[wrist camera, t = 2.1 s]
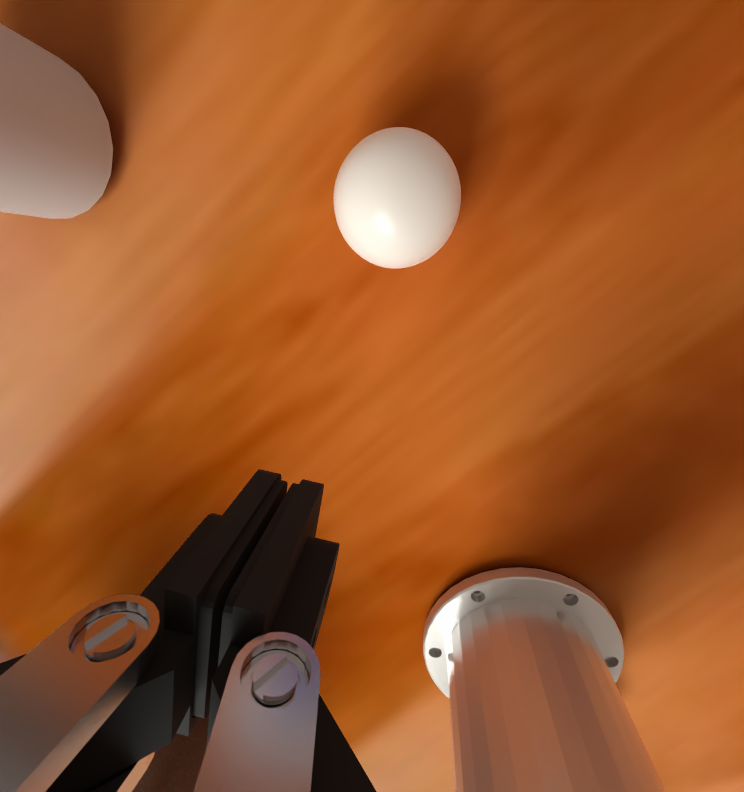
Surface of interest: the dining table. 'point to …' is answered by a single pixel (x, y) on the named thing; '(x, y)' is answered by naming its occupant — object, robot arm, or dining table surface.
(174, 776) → the plant pot
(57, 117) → the can
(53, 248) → the dining table surface
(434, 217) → the cue ball
